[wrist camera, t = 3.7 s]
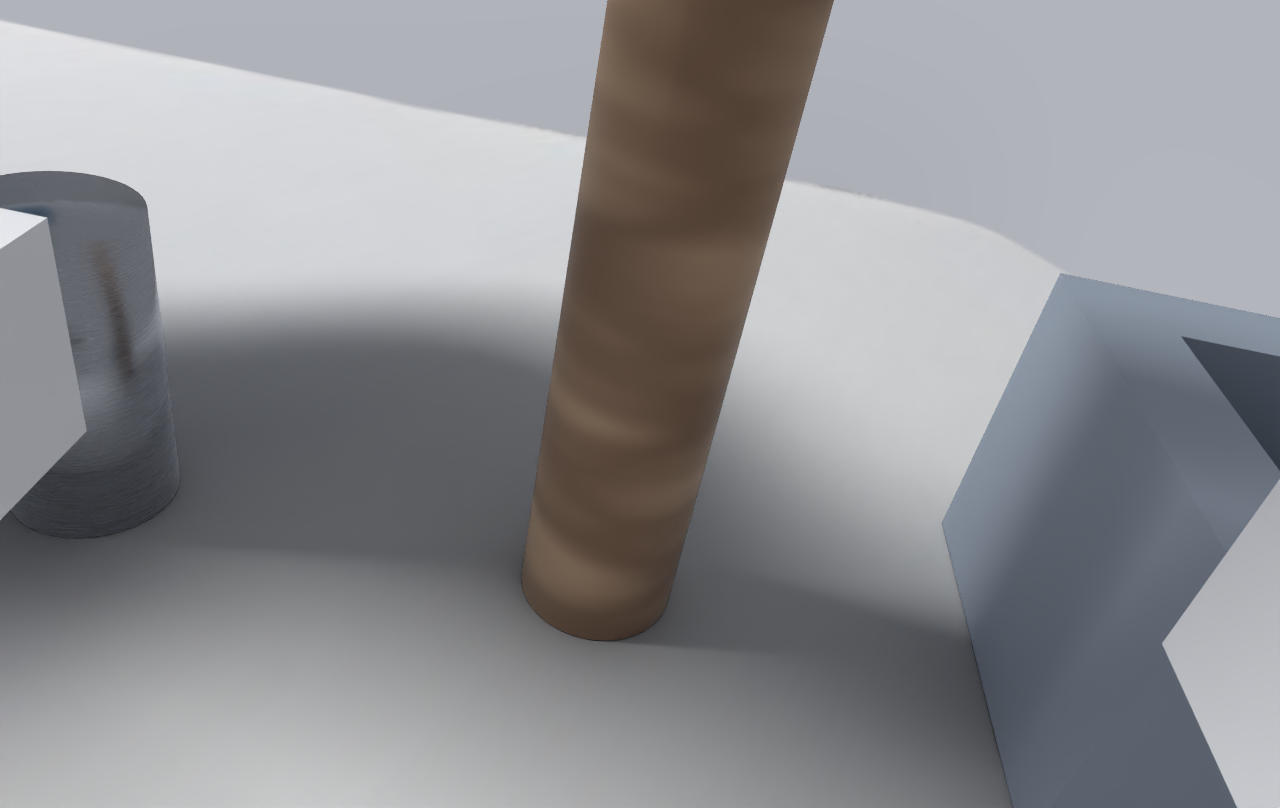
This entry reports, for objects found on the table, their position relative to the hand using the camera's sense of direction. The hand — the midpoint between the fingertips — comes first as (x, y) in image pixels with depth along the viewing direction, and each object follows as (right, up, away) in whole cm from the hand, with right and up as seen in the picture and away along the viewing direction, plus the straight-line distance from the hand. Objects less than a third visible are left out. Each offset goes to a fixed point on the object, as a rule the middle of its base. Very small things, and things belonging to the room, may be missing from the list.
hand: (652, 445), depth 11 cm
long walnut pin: (-1, -4, +15) cm, 16 cm away
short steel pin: (-15, -2, +15) cm, 21 cm away
